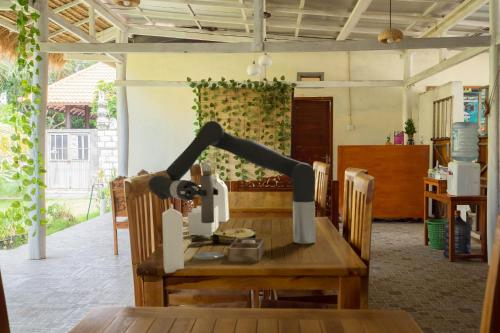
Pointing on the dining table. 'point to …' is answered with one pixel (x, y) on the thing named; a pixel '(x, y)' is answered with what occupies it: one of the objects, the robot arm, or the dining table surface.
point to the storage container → (197, 226)
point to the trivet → (209, 255)
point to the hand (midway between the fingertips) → (211, 192)
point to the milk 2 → (221, 199)
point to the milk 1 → (172, 240)
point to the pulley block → (225, 236)
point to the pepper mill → (208, 200)
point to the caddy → (246, 249)
